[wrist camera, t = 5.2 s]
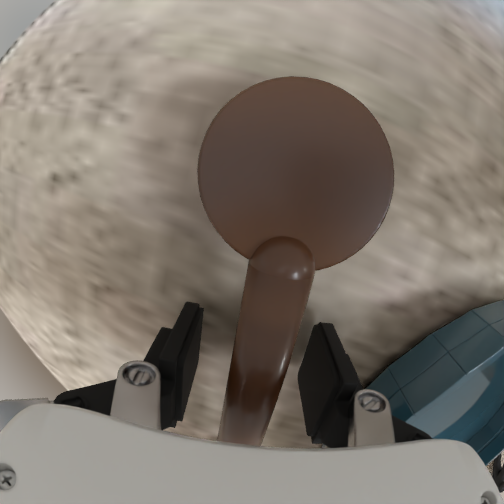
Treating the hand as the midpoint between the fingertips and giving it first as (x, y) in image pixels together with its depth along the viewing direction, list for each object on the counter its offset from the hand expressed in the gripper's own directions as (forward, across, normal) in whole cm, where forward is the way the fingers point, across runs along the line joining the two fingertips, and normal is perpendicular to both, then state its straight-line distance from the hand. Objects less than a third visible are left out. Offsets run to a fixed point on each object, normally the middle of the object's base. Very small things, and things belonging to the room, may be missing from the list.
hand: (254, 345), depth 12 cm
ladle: (+1, 0, 0) cm, 1 cm away
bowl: (+1, -15, +6) cm, 16 cm away
